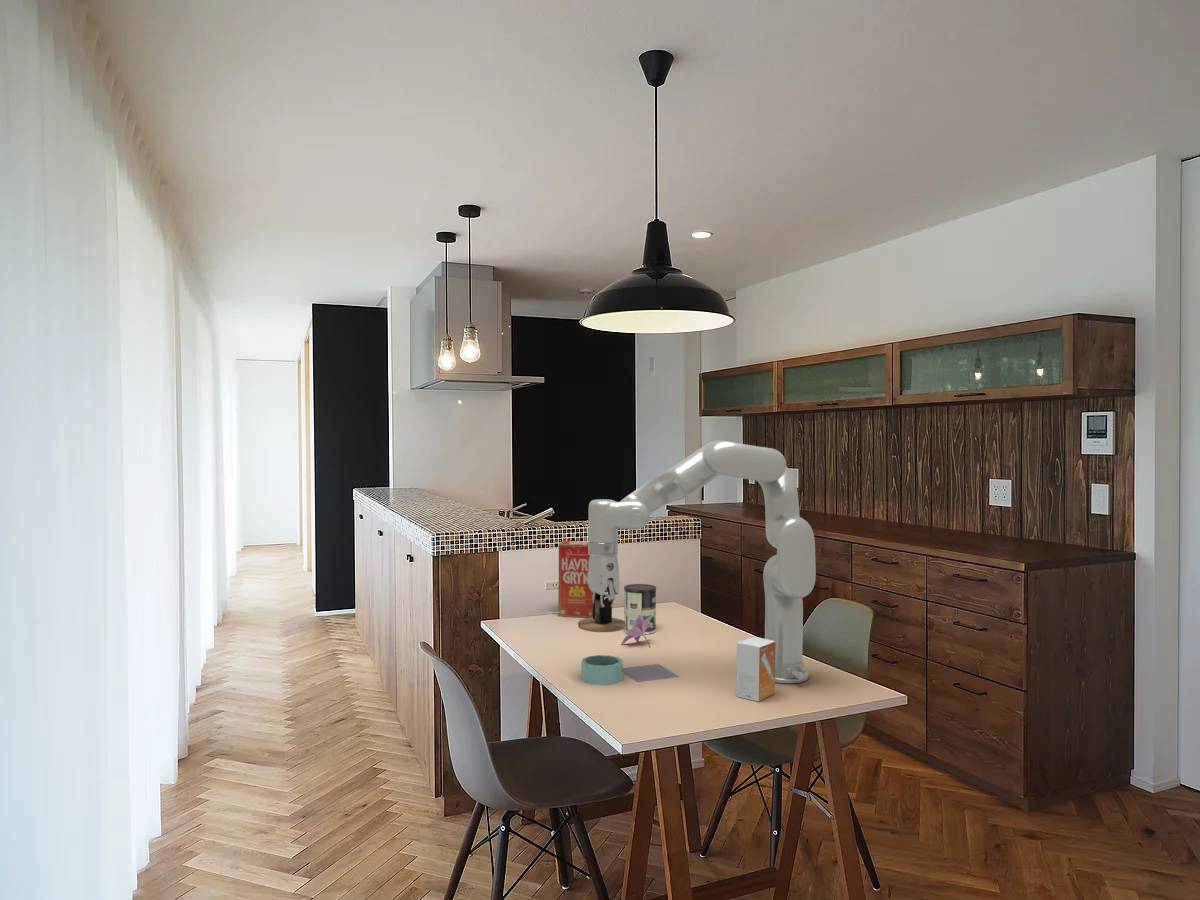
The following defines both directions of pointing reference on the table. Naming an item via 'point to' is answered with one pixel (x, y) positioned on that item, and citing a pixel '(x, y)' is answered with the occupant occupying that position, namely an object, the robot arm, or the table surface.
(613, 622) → the lid
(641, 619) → the lily
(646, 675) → the mat
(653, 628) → the coffee can
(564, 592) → the food packaging
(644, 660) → the table surface
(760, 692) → the small box
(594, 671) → the bowl
